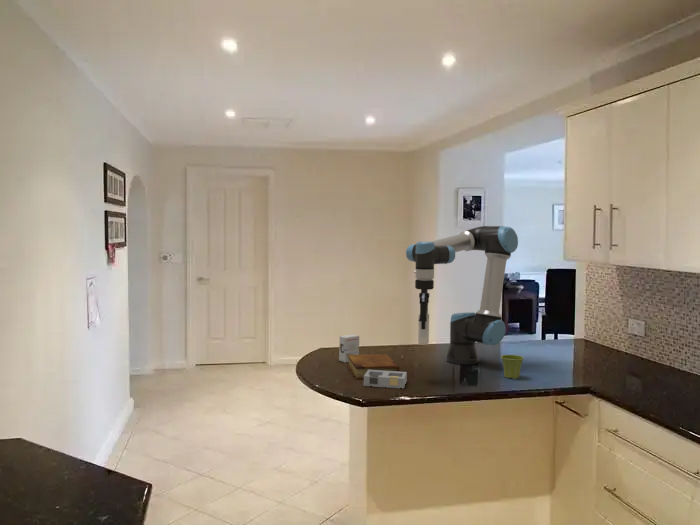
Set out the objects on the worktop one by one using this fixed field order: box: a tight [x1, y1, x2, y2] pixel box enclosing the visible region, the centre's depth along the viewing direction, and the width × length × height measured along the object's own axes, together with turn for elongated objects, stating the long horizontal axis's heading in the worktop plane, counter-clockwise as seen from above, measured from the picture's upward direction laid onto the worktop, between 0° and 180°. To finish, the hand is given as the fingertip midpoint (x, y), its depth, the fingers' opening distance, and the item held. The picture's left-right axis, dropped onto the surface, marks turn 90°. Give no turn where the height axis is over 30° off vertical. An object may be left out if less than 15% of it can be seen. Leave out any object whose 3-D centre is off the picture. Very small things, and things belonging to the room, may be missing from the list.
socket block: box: [363, 370, 408, 390], centre depth 243 cm, size 16×11×4 cm
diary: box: [346, 353, 401, 380], centre depth 263 cm, size 23×19×6 cm
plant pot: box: [500, 354, 525, 380], centre depth 258 cm, size 9×9×9 cm
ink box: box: [338, 334, 360, 364], centre depth 283 cm, size 9×5×12 cm, turn 129°
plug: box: [417, 313, 430, 345], centre depth 249 cm, size 4×4×13 cm
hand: (423, 335), depth 249 cm, fingers closed on plug, 4 cm apart
